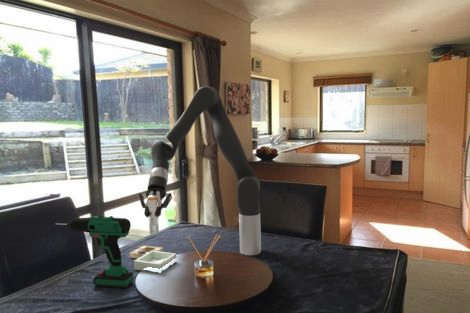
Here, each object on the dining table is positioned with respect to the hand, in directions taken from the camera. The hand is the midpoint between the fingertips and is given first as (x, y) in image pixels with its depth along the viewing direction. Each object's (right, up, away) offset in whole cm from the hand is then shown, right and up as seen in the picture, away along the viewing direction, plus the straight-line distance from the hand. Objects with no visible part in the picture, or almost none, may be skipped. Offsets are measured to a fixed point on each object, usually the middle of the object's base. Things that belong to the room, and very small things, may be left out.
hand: (152, 216), depth 144 cm
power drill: (-18, -23, -11) cm, 31 cm away
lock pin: (0, -7, +3) cm, 8 cm away
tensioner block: (-6, -19, +16) cm, 26 cm away
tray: (+1, -21, +4) cm, 21 cm away
